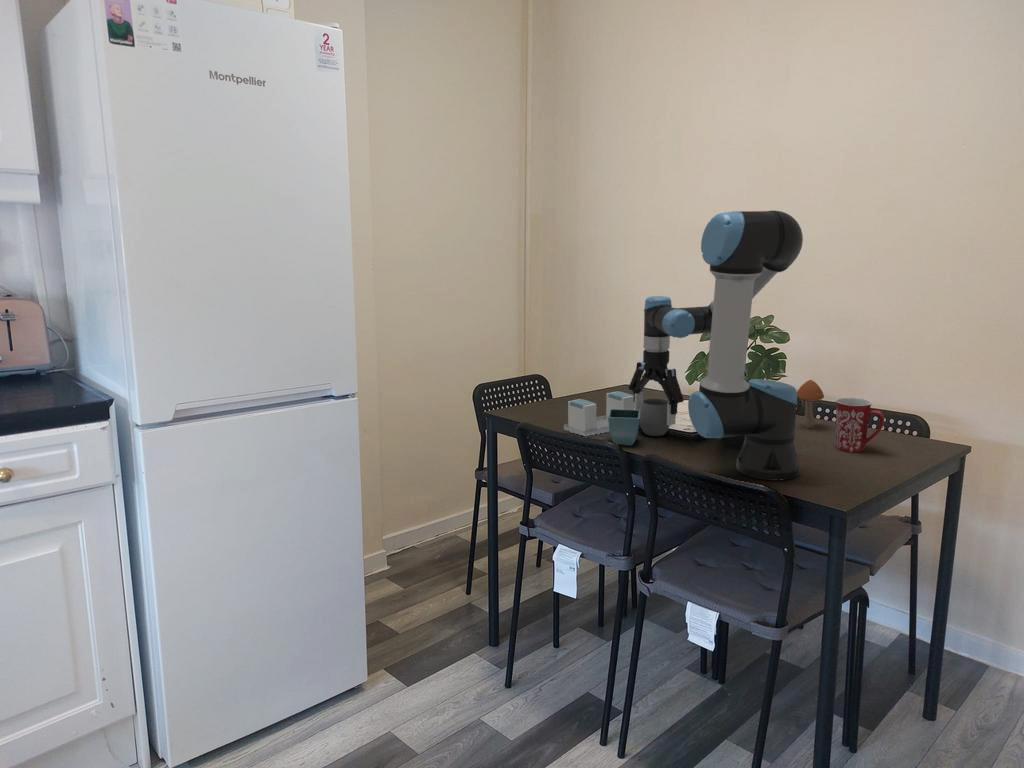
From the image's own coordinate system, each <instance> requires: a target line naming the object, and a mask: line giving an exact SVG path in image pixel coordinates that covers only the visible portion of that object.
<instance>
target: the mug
mask: <svg viewBox="0 0 1024 768" xmlns="http://www.w3.org/2000/svg"><path fill="white" fill-rule="evenodd" d="M835 403H836V406H835V448H836V449H838V450H840V451H843V452H847V453H848V452H849V453H859V452H864V451H865V449H866V444H868V443H869V442H871V441H872V440H873V439H874V438H875V437H876V436H877V435H879V433H880V432H881V430H883V427H884V424H885V416H884V414H883V413H882V412H881V411H879V410H876V409H875V410H871V406H872V404H873V402H872V401H871V400H869V399H864V398H860V397H839V398H836V399H835ZM873 415H877V416H878V417H879V420H880V421H879V422H880V423H879V425H878V427H877V429H876V430H875V431H874V432H873V434H871V435H870V436H869V437H867V435H868V427H869V420H870V419H871V417H872V416H873Z"/></svg>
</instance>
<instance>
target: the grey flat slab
mask: <svg viewBox="0 0 1024 768" xmlns="http://www.w3.org/2000/svg"><path fill="white" fill-rule="evenodd" d="M563 431H566V432H568V431H569V432H568V433H571V434H573V433H575V434H574V435H576V434H579V435H583V436H589V435H593V436H596V435H595V434H597V435H601V434H600V433H602V434H606V433H610V432H609V422H608V418H606V415H600V416H596V429H592V430H587V431H583V432H582V431H580V430H577V429H574V428H571V427H569V426H568V423H565V424H563ZM605 432H606V433H605ZM579 435H578V436H579ZM589 437H590V436H589Z"/></svg>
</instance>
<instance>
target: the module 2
mask: <svg viewBox="0 0 1024 768" xmlns="http://www.w3.org/2000/svg"><path fill="white" fill-rule="evenodd" d="M605 399H606V408H605V409H606V411H605V412H606V418H608V416H609V412H610V409H622V410H634V407H635V403H634V395H633V394H630V393H627V392H623V391H619V390H618V391H612V392H607V393H606V398H605Z"/></svg>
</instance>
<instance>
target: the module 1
mask: <svg viewBox="0 0 1024 768" xmlns="http://www.w3.org/2000/svg"><path fill="white" fill-rule="evenodd" d="M567 403H568V404H567V407H568V408H567V411H568V412H567V416H568V417H567V424H568V426H569V427H571V428H574V429H577V430H580V431H582V432H583V431H587V430H592V429H596V417H597V403H595V402H593V401H590V400H586V399H582V398H578V399H574V400H569V401H567Z"/></svg>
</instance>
